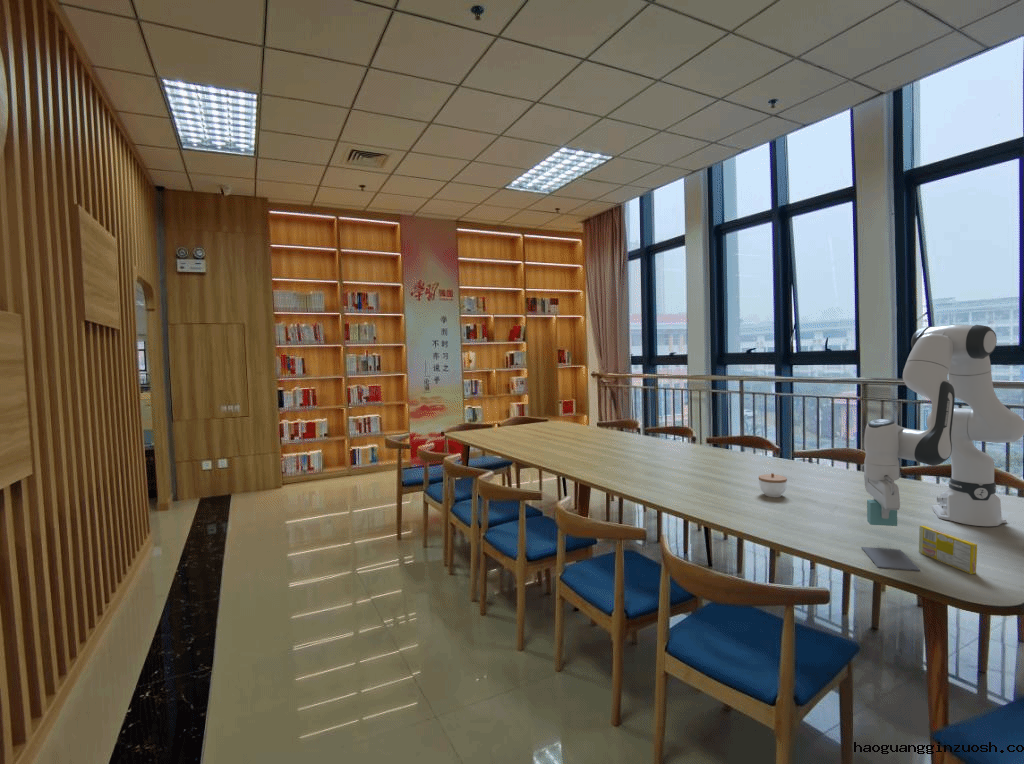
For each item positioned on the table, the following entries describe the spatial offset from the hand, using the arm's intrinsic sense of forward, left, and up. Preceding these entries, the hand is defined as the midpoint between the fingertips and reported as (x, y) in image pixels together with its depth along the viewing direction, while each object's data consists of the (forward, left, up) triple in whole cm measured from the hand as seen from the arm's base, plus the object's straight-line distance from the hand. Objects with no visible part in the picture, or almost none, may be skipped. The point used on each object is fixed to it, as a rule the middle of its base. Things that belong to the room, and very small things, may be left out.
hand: (882, 515), depth 163 cm
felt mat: (+13, -2, -9) cm, 16 cm away
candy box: (+11, +12, -10) cm, 19 cm away
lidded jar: (-51, -24, -10) cm, 58 cm away
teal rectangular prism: (0, 0, -3) cm, 3 cm away
